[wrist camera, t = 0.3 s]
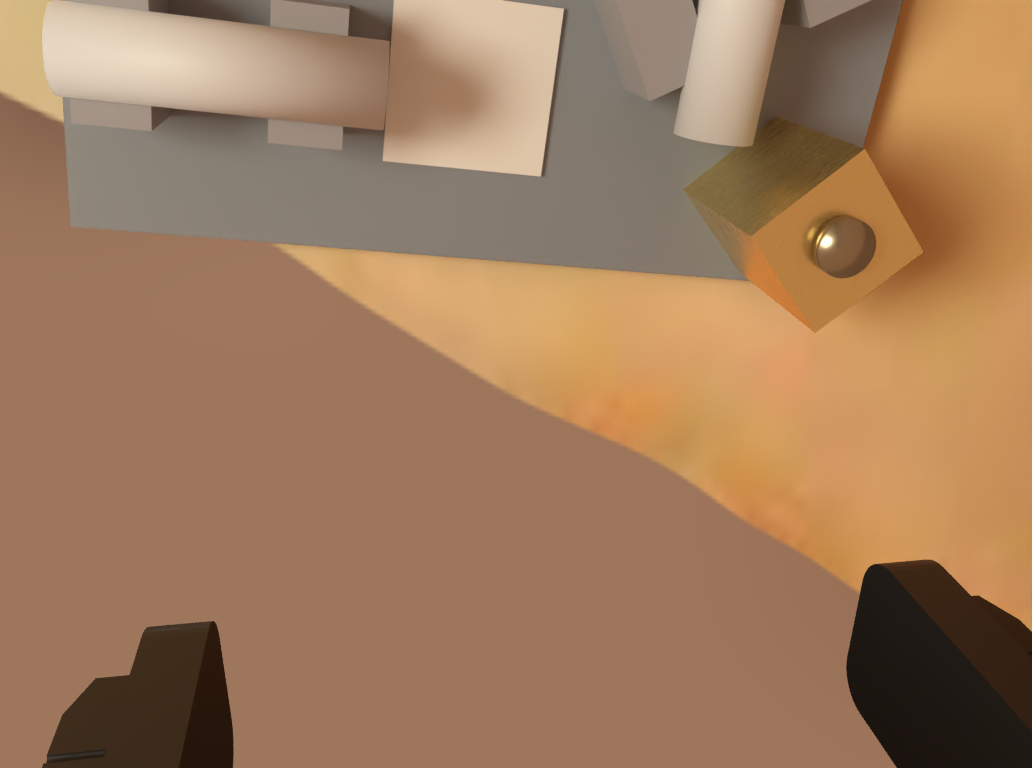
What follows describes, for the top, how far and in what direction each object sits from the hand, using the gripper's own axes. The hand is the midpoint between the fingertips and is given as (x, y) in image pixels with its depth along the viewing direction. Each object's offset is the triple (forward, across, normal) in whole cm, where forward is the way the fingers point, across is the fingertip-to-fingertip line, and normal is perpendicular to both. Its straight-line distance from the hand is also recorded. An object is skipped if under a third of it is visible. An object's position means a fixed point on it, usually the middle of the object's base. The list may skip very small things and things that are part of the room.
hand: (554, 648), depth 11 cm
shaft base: (+28, -3, -4) cm, 28 cm away
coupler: (+26, -14, +1) cm, 30 cm away
